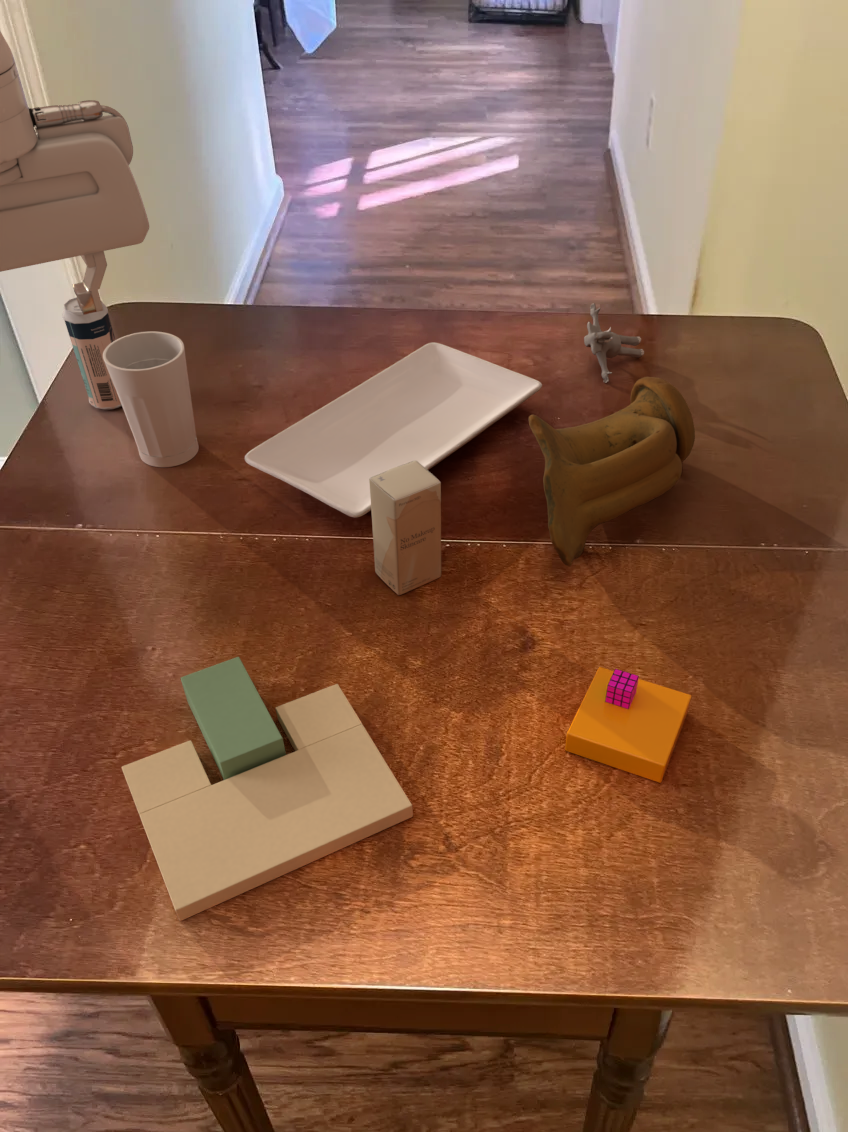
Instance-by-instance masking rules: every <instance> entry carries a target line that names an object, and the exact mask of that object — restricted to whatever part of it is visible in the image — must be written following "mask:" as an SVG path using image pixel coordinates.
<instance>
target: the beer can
mask: <svg viewBox="0 0 848 1132" xmlns="http://www.w3.org/2000/svg"><path fill="white" fill-rule="evenodd" d="M101 303H102V306H103V311H99V312H95V313H90V314H85V315H83V313H82V311H81V310H80V308H79V305H78V302H77V296H76V297H73V298H69V299H68V300H67V301H66V302H65V303H64V304H63V309H62V313H61V316H62V320H64V323H65V327H66V329H67V333H68V336H69V340H70V342H71V346H72V349H73V352H74V355H75V358H76V362H77V365H78V367H79V368H78V369H79V372H80V374H81V377H82V381H83V384H84V388H85V390H86V393H87V397H88V402H89V404H90V405H91V406H92V407H93V408H96V409H100V410H104V411H105V410H107V411H108V410H116V409H118V408H119V409H120V408H121V407H122V404H121V402H120V399H119V397H118V394H117V391H116V389H115V387H114V384H113V382H112V379H111V377H110V374H109V372H108V369H107V367H106V364H105V362H104V359H103V352H104V350H105V349H106V347H107V346H108V345H109V344H111V343H112V342H113V341H115V340H116V336H115V333H114V329H113V326H112V322H111V319H110V318H111V317H110V315H109V310H108V307H107V306H106V304H105V303H104V302H103V301H102V300H101Z"/></svg>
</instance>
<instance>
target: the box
mask: <svg viewBox="0 0 848 1132" xmlns="http://www.w3.org/2000/svg"><path fill="white" fill-rule="evenodd" d="M369 483H370V497H371V510H370V512H371V525H372V542H373V555H374V556H373V559H374V572H375V574H376V575H377V576H378V577H379V578H380V579H381V580H382V581H383V582H384V583H385V584H386V585H387V586H388V587H389V588H390V589H391V590H392V591H393V592H394V593H395V594H396V595H397V596H401V595H403V594H406V593H408V592H410V591H413V590H415V589H417V588H419V587H422V586H423V585H426V584H428V583H431V582H432V581H435V580H437V579H439V578H441V577H442V482H441V481H440V480H439V479H438V478H437V476H435V475H434V474H433V473H431V471H429V470H427V469H426V468H425V467H424V466H422V465H421V464H420V463H419V462H418V461H416V460H414V461H411V462H408V463H405V464H403V465H400V466H398V467H394V468H392V469H389V470H387V471H385V472H382V473H380V474H377V475H375V476H372V477H370V478H369Z"/></svg>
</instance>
